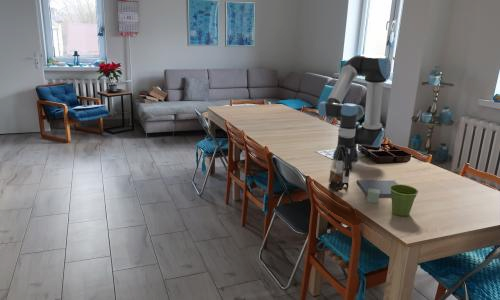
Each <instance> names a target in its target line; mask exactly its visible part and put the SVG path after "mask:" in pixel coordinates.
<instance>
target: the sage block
mask: <svg viewBox="0 0 500 300" xmlns="http://www.w3.org/2000/svg"><path fill="white" fill-rule="evenodd" d="M379 194H380V190H377V189H370V188H369V190H368V196H367V199H366V202H367V203H372V204H379V200H380V196H379Z"/></svg>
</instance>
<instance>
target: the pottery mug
mask: <svg viewBox="0 0 500 300" xmlns="http://www.w3.org/2000/svg"><path fill="white" fill-rule="evenodd" d="M345 186H346V187H345ZM344 187H345V188H346V190H347V189H349V182H348V183H343V177H342V176H340V175H338V174H336V175H335V176H334V177H333V178H332V179H330V183H329V184H328V189H330V190H331V191H334V192H337V190H338V191H342V190H343V189H344Z"/></svg>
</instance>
